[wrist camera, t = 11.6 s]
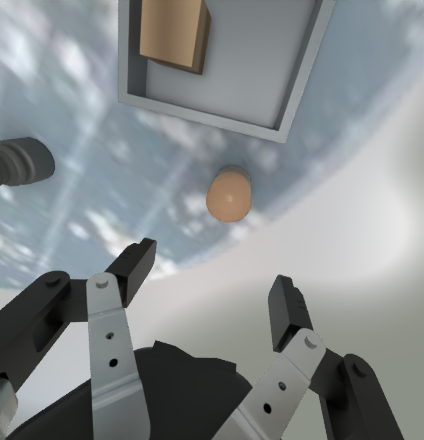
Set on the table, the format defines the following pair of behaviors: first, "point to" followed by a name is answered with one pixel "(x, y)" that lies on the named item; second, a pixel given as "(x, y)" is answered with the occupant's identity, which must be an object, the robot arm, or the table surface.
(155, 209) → the table surface
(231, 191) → the tan cylinder
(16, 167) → the candle holder
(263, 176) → the table surface
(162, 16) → the walnut cube
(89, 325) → the robot arm
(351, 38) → the table surface
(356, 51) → the table surface
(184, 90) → the grey tote
